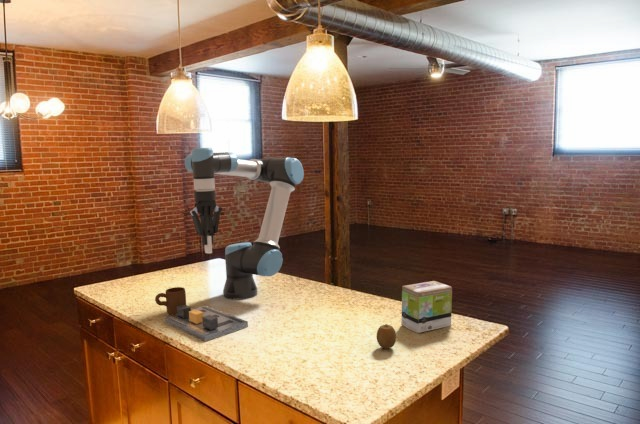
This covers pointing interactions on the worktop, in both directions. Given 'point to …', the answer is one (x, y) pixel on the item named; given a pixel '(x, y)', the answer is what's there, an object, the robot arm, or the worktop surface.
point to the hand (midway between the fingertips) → (208, 252)
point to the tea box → (426, 306)
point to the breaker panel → (200, 325)
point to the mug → (172, 299)
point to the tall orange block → (196, 316)
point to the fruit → (386, 336)
